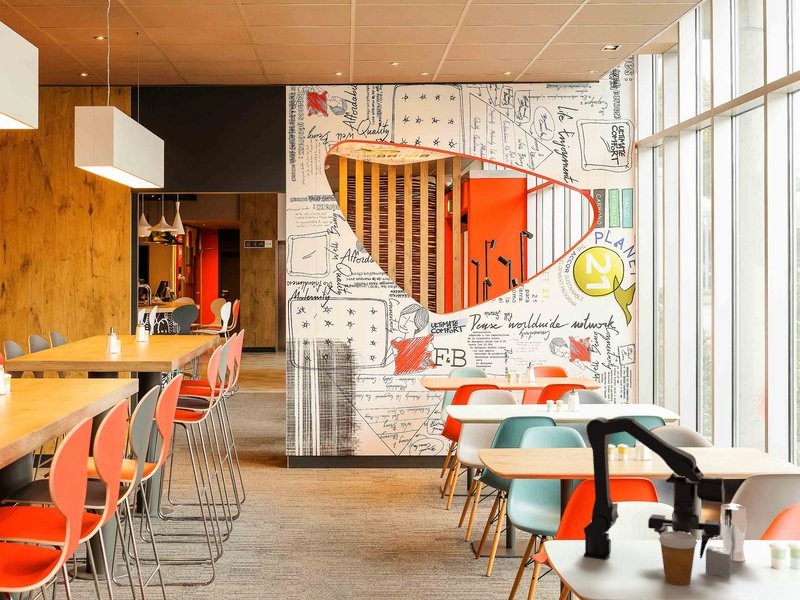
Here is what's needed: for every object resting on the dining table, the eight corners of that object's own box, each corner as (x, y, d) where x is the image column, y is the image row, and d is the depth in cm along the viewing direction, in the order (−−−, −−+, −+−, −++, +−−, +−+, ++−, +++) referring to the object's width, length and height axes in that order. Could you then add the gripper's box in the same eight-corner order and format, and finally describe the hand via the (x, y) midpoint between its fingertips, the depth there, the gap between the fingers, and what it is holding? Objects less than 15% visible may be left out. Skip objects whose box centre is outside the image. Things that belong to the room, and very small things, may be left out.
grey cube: (705, 573, 223) (705, 551, 223) (707, 567, 229) (707, 545, 229) (729, 577, 221) (729, 554, 221) (730, 570, 226) (731, 548, 226)
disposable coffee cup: (696, 578, 220) (696, 532, 220) (697, 589, 211) (697, 542, 211) (659, 574, 223) (659, 529, 223) (658, 585, 214) (658, 538, 214)
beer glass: (748, 563, 233) (748, 510, 233) (722, 561, 234) (722, 508, 234) (743, 556, 240) (743, 504, 240) (718, 554, 241) (718, 503, 241)
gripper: (645, 502, 225) (645, 559, 225) (718, 509, 217) (718, 568, 217) (651, 494, 235) (651, 548, 235) (721, 500, 227) (721, 557, 227)
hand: (684, 555), depth 228 cm, fingers open, 8 cm apart
